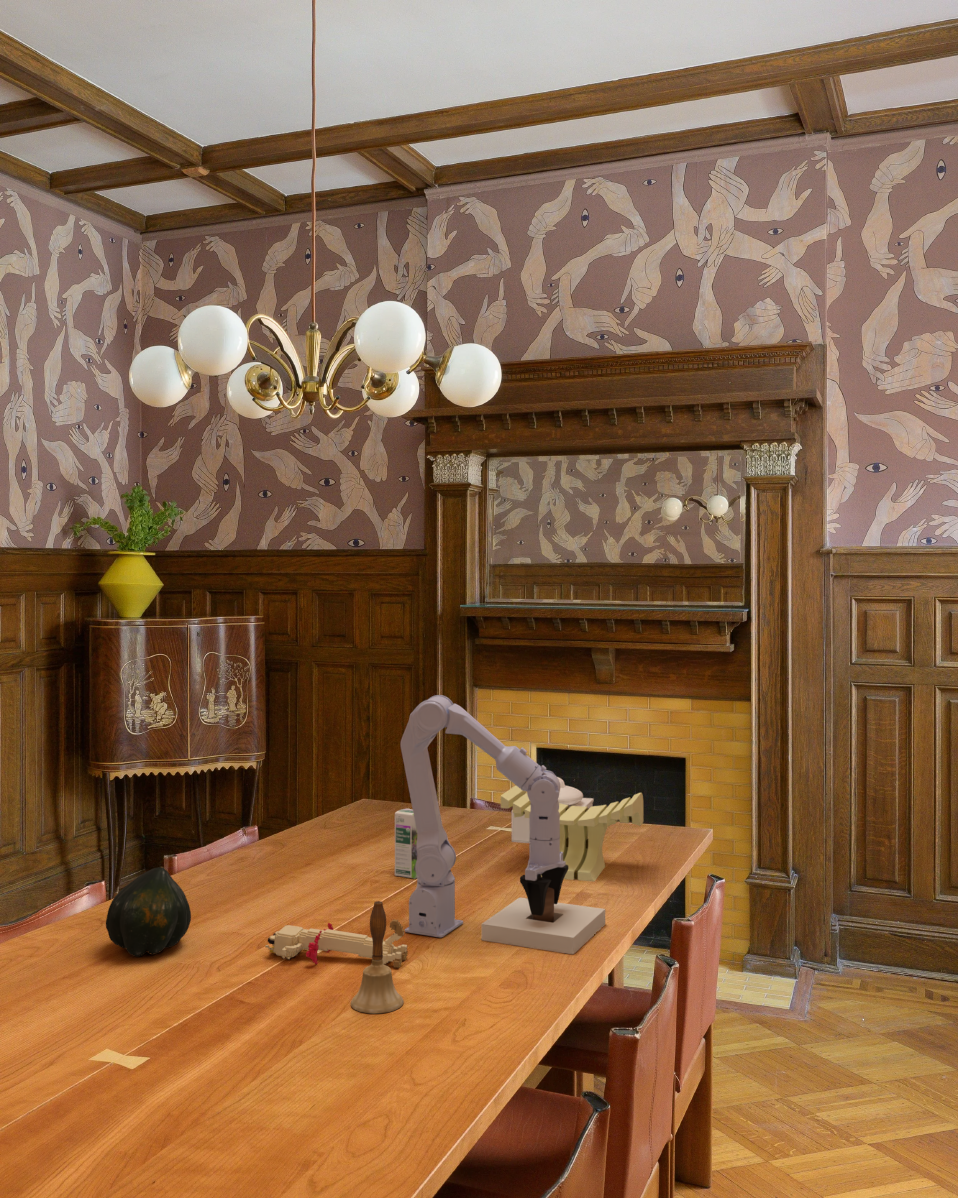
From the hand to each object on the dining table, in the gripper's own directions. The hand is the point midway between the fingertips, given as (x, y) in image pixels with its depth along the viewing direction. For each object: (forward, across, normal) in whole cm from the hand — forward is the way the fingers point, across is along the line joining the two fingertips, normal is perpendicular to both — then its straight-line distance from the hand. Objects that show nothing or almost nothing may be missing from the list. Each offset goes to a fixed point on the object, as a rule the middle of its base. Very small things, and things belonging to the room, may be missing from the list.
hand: (544, 909), depth 197 cm
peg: (+4, 0, 0) cm, 4 cm away
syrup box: (+5, +24, +42) cm, 49 cm away
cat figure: (+5, -28, +28) cm, 40 cm away
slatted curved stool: (+5, +43, +10) cm, 44 cm away
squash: (+5, -38, +62) cm, 73 cm away
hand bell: (+5, -42, +12) cm, 44 cm away
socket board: (+4, 0, 0) cm, 4 cm away
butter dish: (+5, +71, +26) cm, 76 cm away
